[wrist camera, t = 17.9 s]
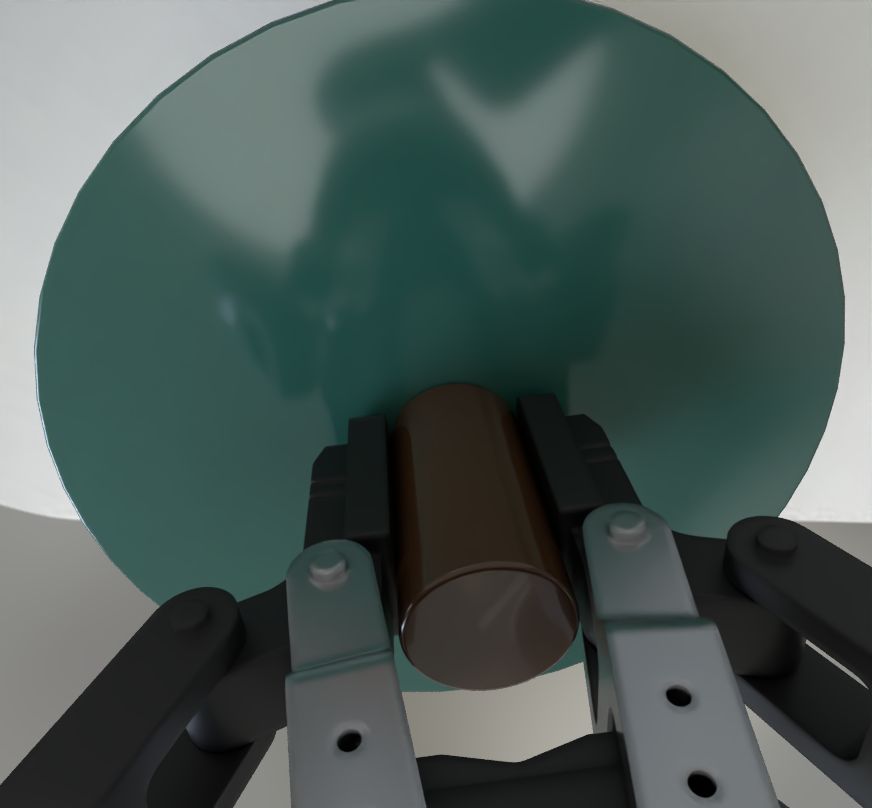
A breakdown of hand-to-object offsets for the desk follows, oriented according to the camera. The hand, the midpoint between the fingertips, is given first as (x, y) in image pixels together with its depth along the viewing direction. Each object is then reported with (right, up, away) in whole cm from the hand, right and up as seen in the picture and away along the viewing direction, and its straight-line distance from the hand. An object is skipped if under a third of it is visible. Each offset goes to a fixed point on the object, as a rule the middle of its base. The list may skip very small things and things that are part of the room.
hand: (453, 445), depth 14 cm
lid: (0, 0, +1) cm, 1 cm away
